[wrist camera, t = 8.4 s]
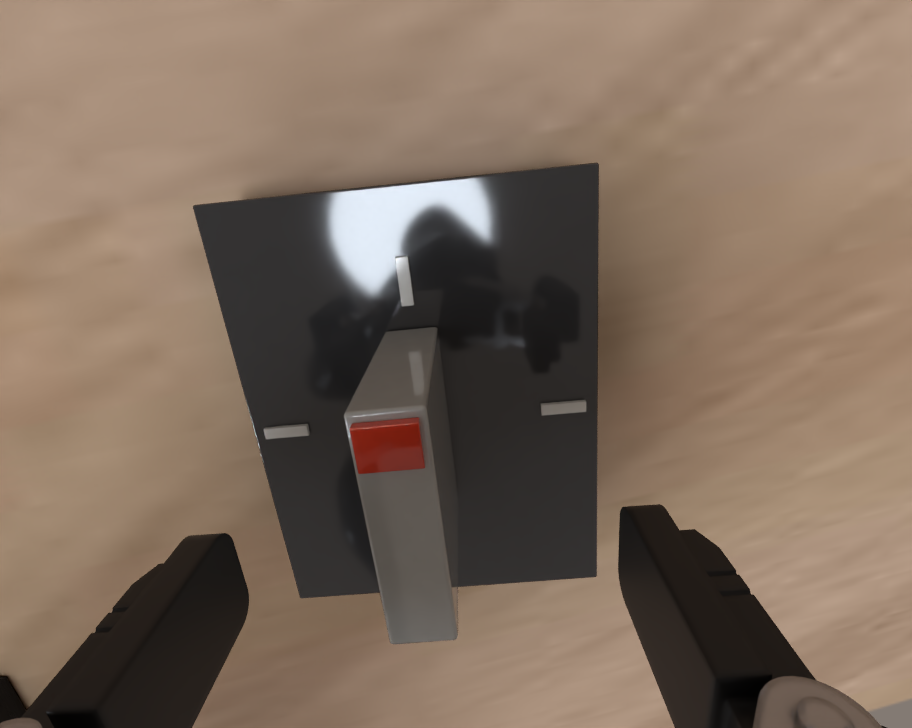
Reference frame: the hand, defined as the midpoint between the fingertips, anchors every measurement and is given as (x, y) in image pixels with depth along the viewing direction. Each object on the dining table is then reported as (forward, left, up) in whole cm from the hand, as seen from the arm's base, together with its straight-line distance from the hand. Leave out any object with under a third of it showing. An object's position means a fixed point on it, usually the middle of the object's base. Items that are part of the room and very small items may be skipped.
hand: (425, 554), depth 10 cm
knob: (0, 0, -6) cm, 6 cm away
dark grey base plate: (0, 0, -9) cm, 9 cm away
